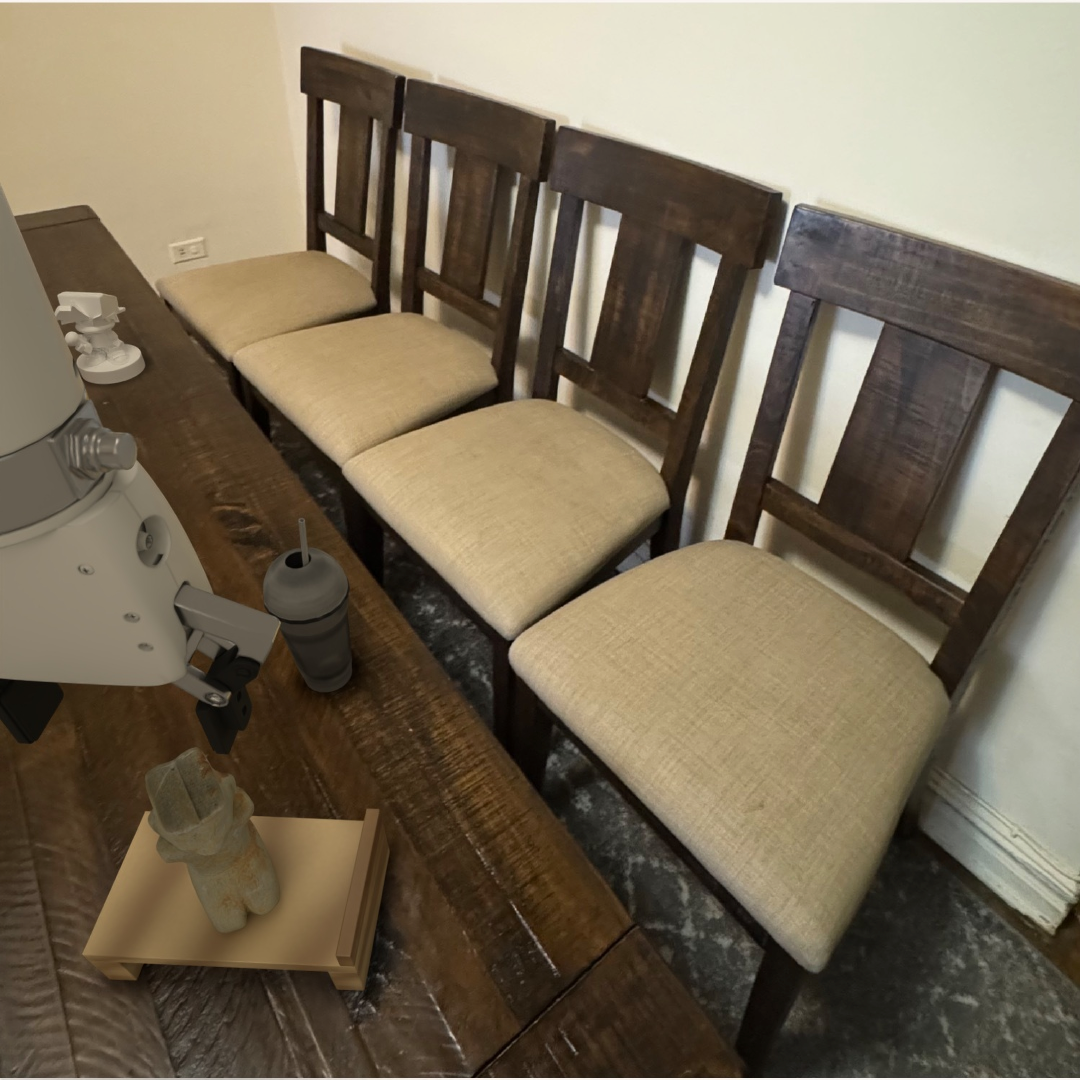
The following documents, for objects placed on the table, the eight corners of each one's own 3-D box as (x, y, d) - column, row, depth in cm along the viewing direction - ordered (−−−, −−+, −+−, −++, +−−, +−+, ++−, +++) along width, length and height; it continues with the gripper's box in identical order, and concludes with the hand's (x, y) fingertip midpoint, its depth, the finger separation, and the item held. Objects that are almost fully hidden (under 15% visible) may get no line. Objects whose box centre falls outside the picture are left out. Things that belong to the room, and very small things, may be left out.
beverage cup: (306, 639, 75) (261, 484, 61) (376, 648, 74) (346, 494, 60) (277, 699, 69) (221, 544, 56) (352, 709, 69) (314, 555, 55)
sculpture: (210, 953, 49) (133, 853, 39) (186, 860, 53) (110, 747, 43) (297, 907, 51) (245, 801, 41) (266, 820, 56) (213, 705, 45)
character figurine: (70, 382, 108) (34, 304, 100) (100, 350, 115) (69, 275, 107) (131, 385, 108) (100, 307, 100) (157, 352, 115) (130, 277, 107)
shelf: (108, 979, 52) (68, 944, 47) (165, 840, 59) (136, 797, 55) (364, 991, 52) (350, 956, 47) (389, 850, 59) (379, 808, 55)
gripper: (260, 411, 30) (324, 675, 41) (-177, 386, 29) (10, 657, 41) (189, 538, 24) (285, 801, 36) (-351, 507, 24) (-78, 782, 35)
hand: (138, 724), depth 38 cm, fingers open, 9 cm apart
